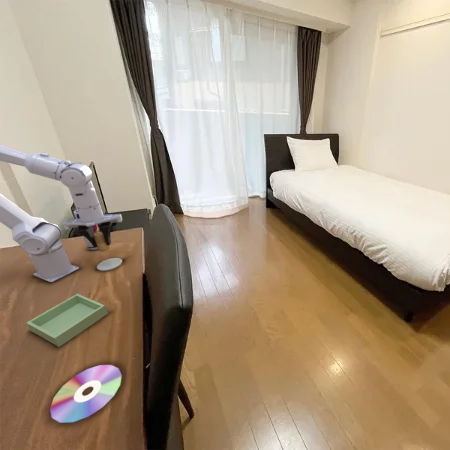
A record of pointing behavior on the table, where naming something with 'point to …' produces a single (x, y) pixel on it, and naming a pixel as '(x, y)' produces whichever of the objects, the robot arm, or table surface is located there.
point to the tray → (67, 319)
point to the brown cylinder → (100, 242)
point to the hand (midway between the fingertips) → (102, 244)
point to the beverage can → (89, 245)
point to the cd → (86, 405)
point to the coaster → (109, 264)
